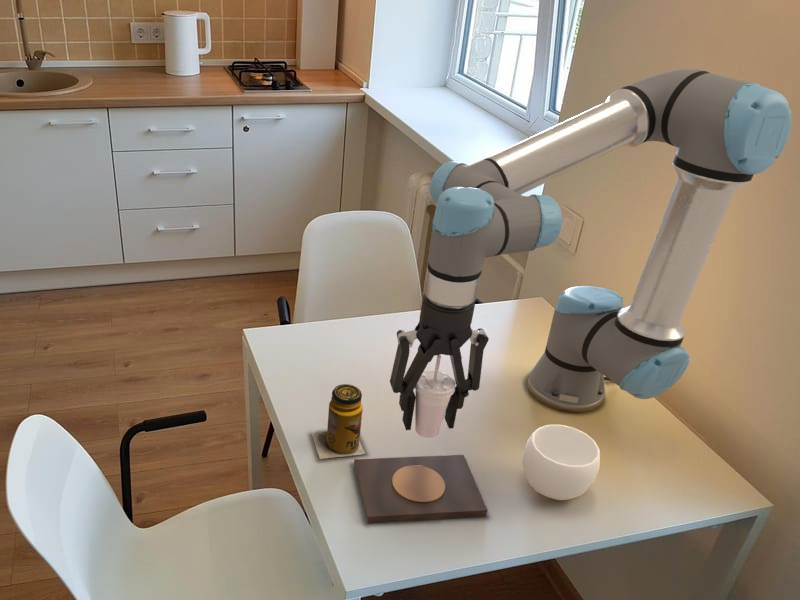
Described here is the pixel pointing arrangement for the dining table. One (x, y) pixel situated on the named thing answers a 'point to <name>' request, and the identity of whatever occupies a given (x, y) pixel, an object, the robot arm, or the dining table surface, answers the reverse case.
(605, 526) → the dining table surface
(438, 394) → the smoothie
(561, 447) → the cup
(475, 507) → the board
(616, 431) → the dining table surface
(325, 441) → the condiment
